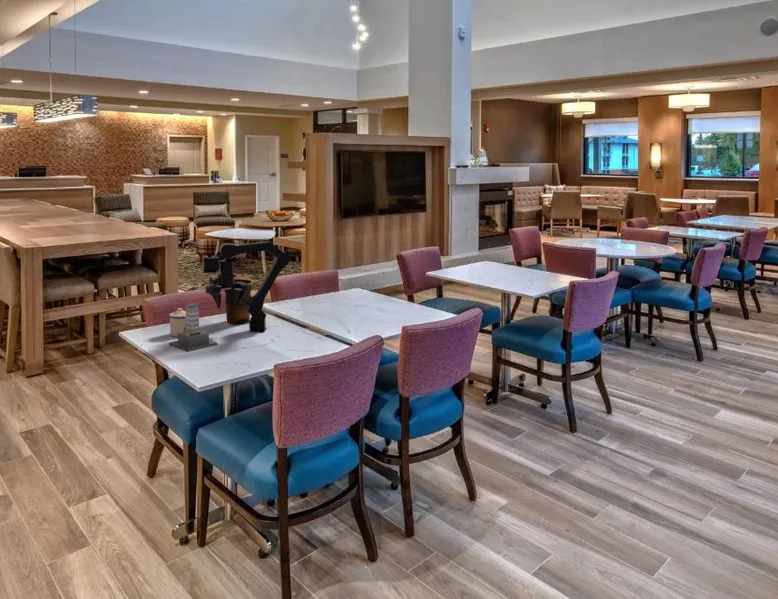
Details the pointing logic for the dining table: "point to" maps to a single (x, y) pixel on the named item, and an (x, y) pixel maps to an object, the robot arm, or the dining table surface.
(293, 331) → the dining table surface
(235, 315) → the vessel
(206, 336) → the stand base
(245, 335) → the dining table surface
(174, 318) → the teacup with lid
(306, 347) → the dining table surface
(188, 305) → the column
